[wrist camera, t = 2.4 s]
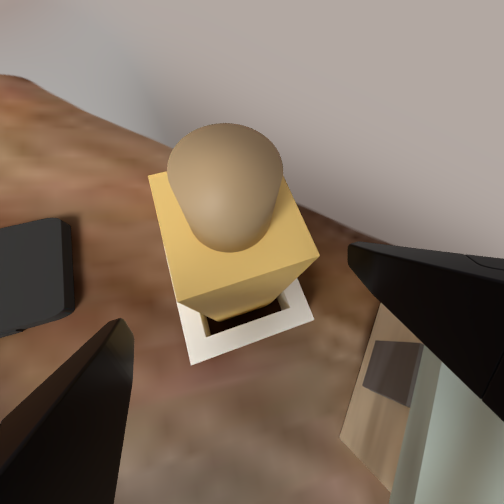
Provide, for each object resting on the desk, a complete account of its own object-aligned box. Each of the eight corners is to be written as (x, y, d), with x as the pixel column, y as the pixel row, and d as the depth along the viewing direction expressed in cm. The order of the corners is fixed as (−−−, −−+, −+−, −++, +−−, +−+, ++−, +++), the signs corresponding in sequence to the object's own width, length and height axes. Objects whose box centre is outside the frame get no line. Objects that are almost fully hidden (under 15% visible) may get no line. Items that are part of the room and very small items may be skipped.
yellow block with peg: (268, 305, 18) (354, 222, 4) (219, 322, 17) (145, 287, 4) (252, 258, 19) (280, 85, 6) (205, 273, 18) (113, 116, 5)
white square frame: (302, 321, 17) (314, 319, 14) (199, 359, 16) (191, 365, 13) (266, 231, 20) (270, 214, 17) (175, 257, 18) (163, 244, 16)
